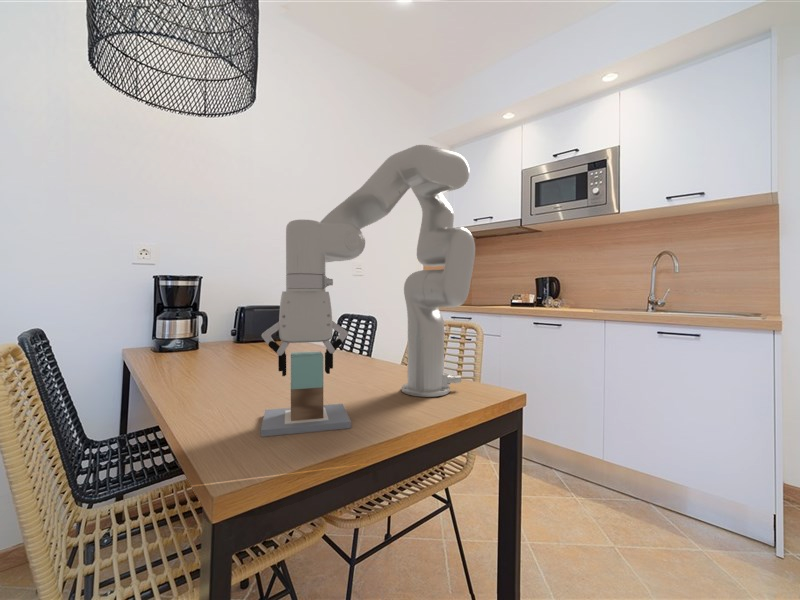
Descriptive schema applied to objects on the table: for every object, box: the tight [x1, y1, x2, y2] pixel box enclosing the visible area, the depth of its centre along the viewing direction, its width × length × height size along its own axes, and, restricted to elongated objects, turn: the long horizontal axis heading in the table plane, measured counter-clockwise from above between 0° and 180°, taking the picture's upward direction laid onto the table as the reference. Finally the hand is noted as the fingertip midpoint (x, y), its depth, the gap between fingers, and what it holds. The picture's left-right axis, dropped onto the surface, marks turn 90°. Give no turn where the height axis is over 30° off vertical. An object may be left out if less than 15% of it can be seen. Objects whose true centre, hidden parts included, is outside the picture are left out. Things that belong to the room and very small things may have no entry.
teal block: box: [290, 351, 324, 390], centre depth 74 cm, size 6×6×6 cm
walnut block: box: [290, 386, 324, 421], centre depth 74 cm, size 6×6×6 cm
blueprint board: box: [260, 403, 352, 438], centre depth 74 cm, size 16×12×1 cm
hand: (306, 373), depth 74 cm, fingers open, 7 cm apart
